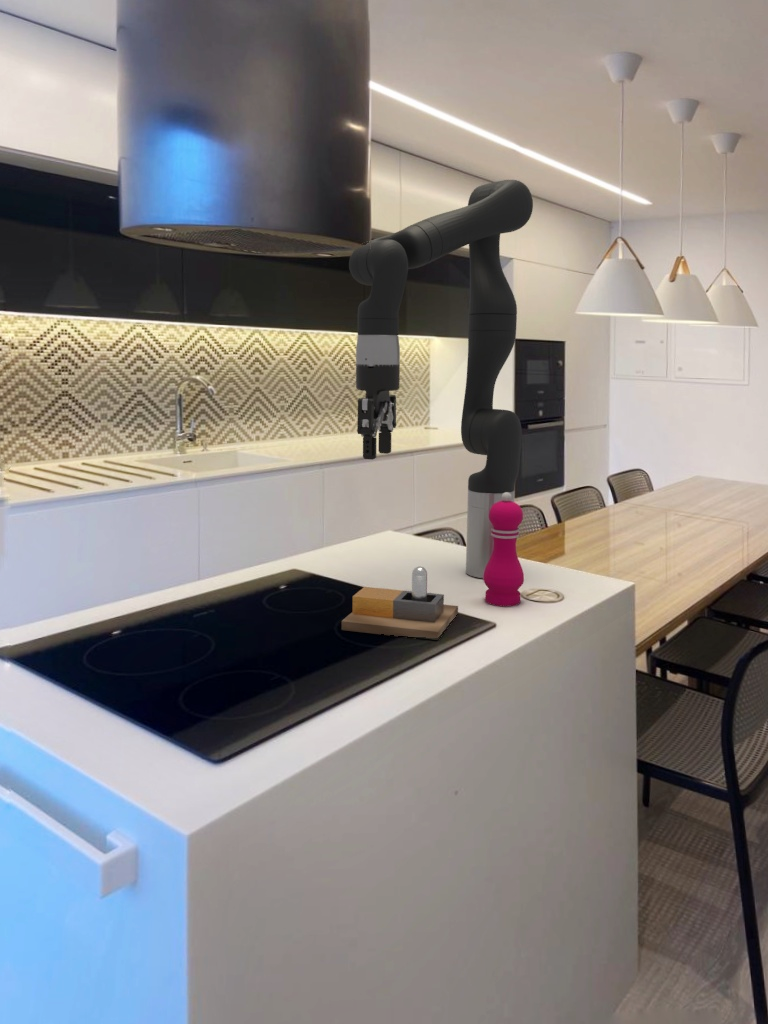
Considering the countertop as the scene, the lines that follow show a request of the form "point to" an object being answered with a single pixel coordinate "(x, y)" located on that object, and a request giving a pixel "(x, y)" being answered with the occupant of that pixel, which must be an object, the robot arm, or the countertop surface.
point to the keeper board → (400, 624)
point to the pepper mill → (504, 554)
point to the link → (397, 604)
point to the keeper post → (419, 584)
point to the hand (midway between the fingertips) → (377, 456)
